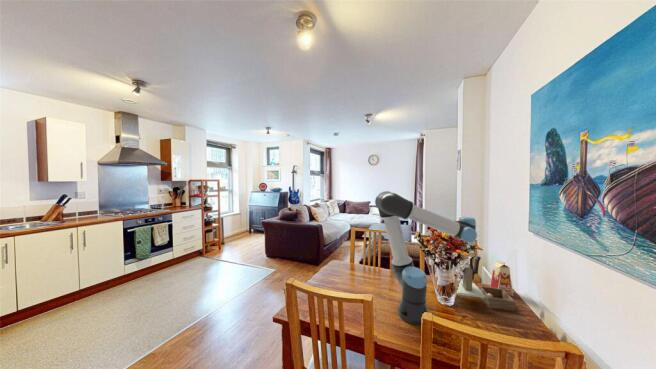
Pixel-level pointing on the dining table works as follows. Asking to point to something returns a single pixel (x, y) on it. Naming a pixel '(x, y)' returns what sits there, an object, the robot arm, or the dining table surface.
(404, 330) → the dining table surface
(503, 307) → the walnut box
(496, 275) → the milk carton
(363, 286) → the dining table surface
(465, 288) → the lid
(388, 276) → the dining table surface
